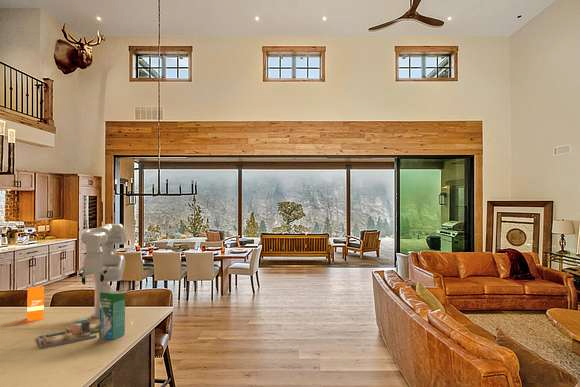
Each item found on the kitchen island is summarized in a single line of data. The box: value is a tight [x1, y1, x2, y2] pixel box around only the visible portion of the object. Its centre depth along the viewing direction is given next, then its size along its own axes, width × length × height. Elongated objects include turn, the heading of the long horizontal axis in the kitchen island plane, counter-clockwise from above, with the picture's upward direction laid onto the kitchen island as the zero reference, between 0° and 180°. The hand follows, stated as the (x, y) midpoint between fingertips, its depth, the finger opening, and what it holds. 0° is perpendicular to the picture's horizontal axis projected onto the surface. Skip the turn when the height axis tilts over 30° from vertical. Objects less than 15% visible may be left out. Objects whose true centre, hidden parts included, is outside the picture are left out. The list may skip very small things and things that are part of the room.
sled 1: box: [42, 320, 91, 345], centre depth 199 cm, size 21×7×8 cm, turn 129°
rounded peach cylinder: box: [71, 323, 81, 335], centre depth 201 cm, size 4×4×5 cm
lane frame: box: [36, 330, 98, 350], centre depth 202 cm, size 26×19×1 cm
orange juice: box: [26, 285, 45, 322], centre depth 237 cm, size 8×9×20 cm
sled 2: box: [64, 322, 100, 334], centre depth 213 cm, size 21×7×8 cm, turn 129°
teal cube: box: [75, 317, 89, 329], centre depth 211 cm, size 5×5×5 cm
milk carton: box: [98, 290, 126, 341], centre depth 205 cm, size 9×9×25 cm
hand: (92, 282), depth 222 cm, fingers open, 9 cm apart
